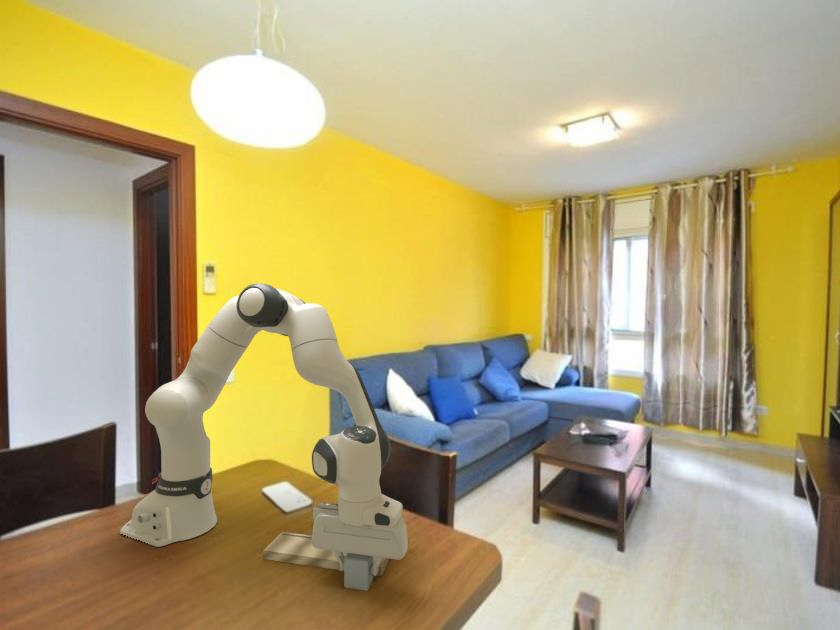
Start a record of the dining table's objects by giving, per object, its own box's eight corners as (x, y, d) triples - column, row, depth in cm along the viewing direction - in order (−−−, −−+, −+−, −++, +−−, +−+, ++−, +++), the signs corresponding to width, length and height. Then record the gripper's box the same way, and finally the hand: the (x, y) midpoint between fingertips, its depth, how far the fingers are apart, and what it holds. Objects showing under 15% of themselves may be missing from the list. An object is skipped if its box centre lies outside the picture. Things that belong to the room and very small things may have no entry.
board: (263, 558, 95) (263, 549, 95) (281, 539, 103) (281, 531, 103) (381, 576, 90) (381, 566, 90) (391, 554, 98) (391, 545, 98)
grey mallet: (344, 587, 86) (344, 558, 86) (363, 553, 98) (363, 527, 98) (367, 590, 85) (367, 561, 85) (383, 555, 97) (384, 530, 97)
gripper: (306, 508, 86) (306, 574, 87) (402, 519, 82) (402, 588, 83) (319, 494, 92) (319, 556, 93) (409, 504, 88) (409, 569, 89)
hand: (359, 571), depth 88 cm, fingers closed on grey mallet, 5 cm apart
